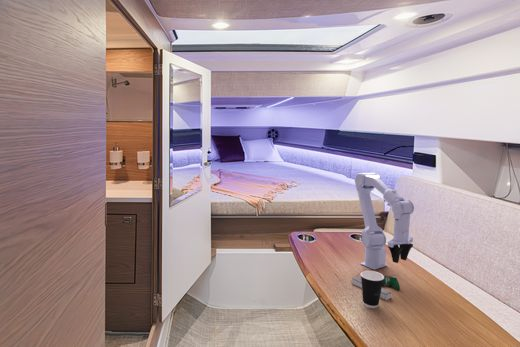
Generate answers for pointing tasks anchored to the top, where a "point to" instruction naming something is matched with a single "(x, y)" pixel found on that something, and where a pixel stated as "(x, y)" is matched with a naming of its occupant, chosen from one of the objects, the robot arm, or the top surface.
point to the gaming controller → (391, 282)
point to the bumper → (384, 293)
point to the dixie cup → (371, 288)
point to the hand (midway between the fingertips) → (399, 260)
